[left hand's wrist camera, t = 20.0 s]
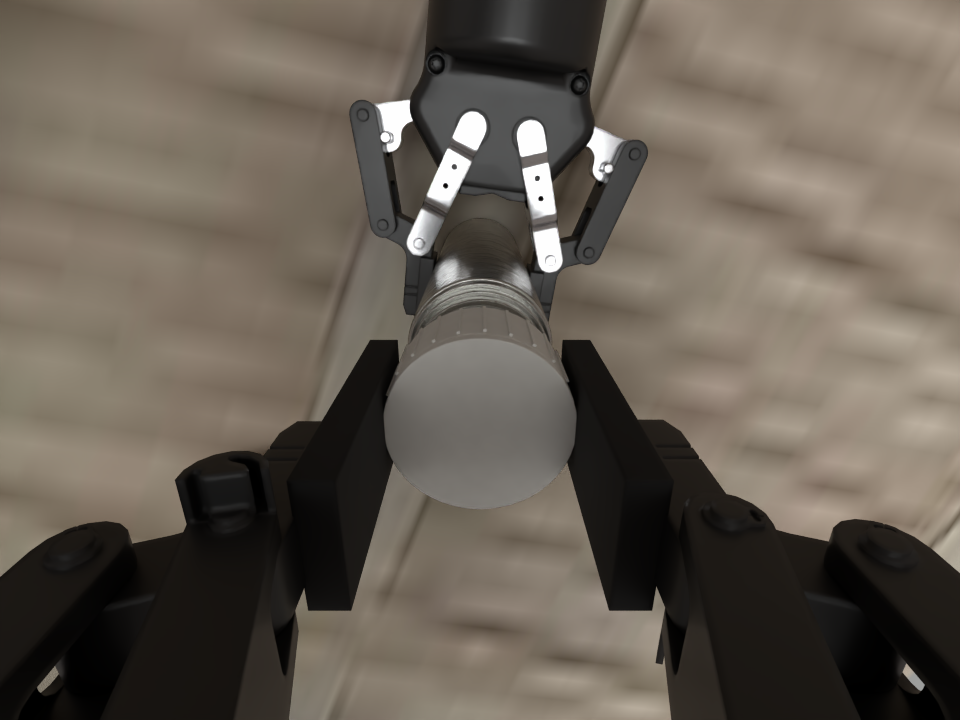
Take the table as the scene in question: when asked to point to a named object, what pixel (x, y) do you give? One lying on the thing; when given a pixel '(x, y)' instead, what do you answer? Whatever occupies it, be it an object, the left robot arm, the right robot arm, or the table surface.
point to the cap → (480, 410)
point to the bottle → (480, 277)
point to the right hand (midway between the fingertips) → (474, 328)
